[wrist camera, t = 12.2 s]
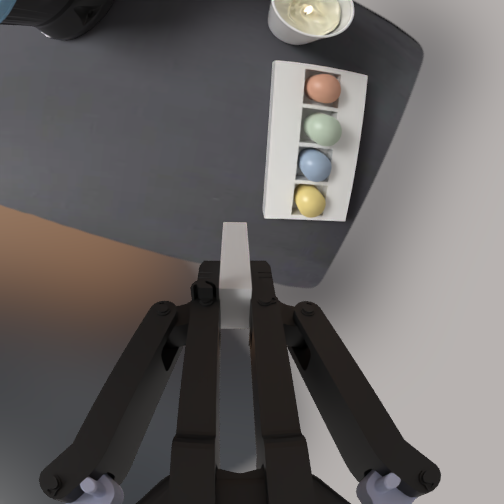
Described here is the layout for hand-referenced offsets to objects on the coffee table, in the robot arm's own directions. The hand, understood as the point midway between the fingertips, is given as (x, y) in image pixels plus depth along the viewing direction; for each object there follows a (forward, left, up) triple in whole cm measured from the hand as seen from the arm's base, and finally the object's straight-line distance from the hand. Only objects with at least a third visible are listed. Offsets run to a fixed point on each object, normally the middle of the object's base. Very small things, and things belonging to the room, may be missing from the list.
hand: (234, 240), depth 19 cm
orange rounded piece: (-11, +12, -28) cm, 32 cm away
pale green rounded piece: (-5, +12, -25) cm, 29 cm away
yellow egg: (+7, +12, -28) cm, 31 cm away
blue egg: (+1, +12, -28) cm, 30 cm away
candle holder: (-22, +8, -29) cm, 37 cm away
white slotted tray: (-2, +12, -28) cm, 31 cm away
